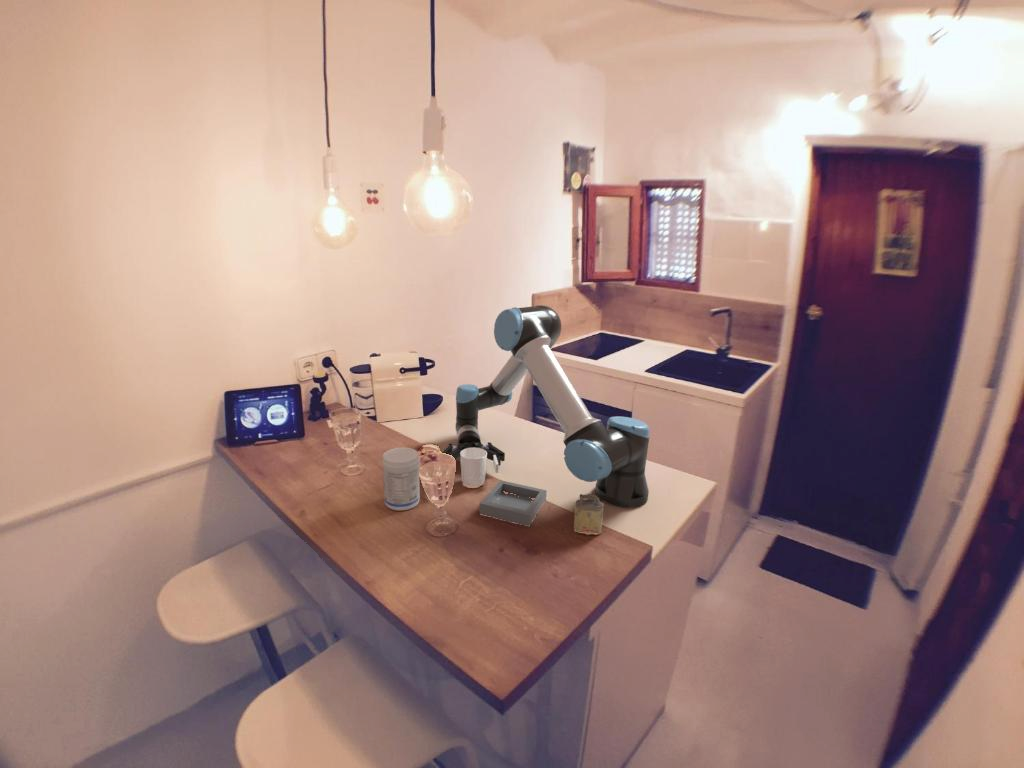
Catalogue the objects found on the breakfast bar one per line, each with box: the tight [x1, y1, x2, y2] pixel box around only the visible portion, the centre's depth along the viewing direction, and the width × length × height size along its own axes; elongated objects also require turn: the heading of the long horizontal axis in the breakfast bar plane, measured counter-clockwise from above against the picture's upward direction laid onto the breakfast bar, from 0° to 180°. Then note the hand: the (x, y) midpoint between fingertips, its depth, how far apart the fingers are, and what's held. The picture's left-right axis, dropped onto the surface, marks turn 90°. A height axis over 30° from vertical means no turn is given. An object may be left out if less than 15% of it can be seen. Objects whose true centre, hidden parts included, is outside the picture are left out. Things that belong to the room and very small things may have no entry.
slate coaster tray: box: [479, 479, 548, 526], centre depth 135 cm, size 14×14×4 cm
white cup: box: [459, 448, 488, 486], centre depth 146 cm, size 8×8×10 cm
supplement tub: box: [382, 447, 421, 512], centre depth 134 cm, size 10×10×15 cm
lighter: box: [573, 493, 604, 533], centre depth 124 cm, size 7×4×10 cm, turn 85°
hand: (473, 469), depth 144 cm, fingers open, 13 cm apart
